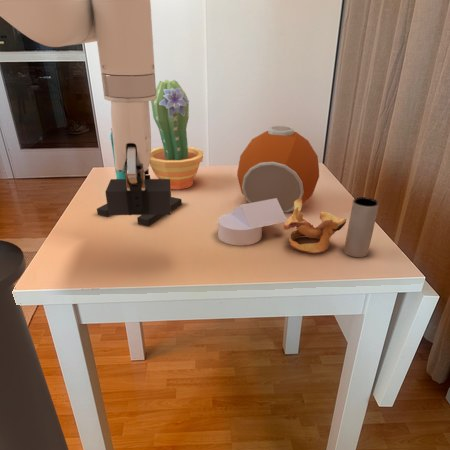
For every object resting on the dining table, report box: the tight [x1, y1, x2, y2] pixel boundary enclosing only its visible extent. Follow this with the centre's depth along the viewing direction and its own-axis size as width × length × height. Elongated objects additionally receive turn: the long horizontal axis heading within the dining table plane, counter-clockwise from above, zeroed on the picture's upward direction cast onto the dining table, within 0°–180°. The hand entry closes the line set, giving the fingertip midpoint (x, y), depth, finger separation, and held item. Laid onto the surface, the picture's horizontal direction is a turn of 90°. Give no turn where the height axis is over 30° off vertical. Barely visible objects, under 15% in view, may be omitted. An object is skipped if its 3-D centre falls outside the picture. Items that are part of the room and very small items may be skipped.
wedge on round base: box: [217, 198, 288, 247], centre depth 86 cm, size 9×7×13 cm
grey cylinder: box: [343, 196, 380, 258], centre depth 79 cm, size 4×4×10 cm
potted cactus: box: [149, 79, 204, 190], centre depth 107 cm, size 15×15×25 cm
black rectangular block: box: [105, 178, 172, 216], centre depth 70 cm, size 6×10×4 cm, turn 95°
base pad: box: [96, 196, 183, 227], centre depth 98 cm, size 14×14×2 cm
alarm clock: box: [236, 125, 320, 213], centre depth 98 cm, size 19×18×17 cm
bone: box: [283, 198, 347, 255], centre depth 82 cm, size 12×10×8 cm
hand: (140, 204), depth 71 cm, fingers closed on black rectangular block, 6 cm apart
